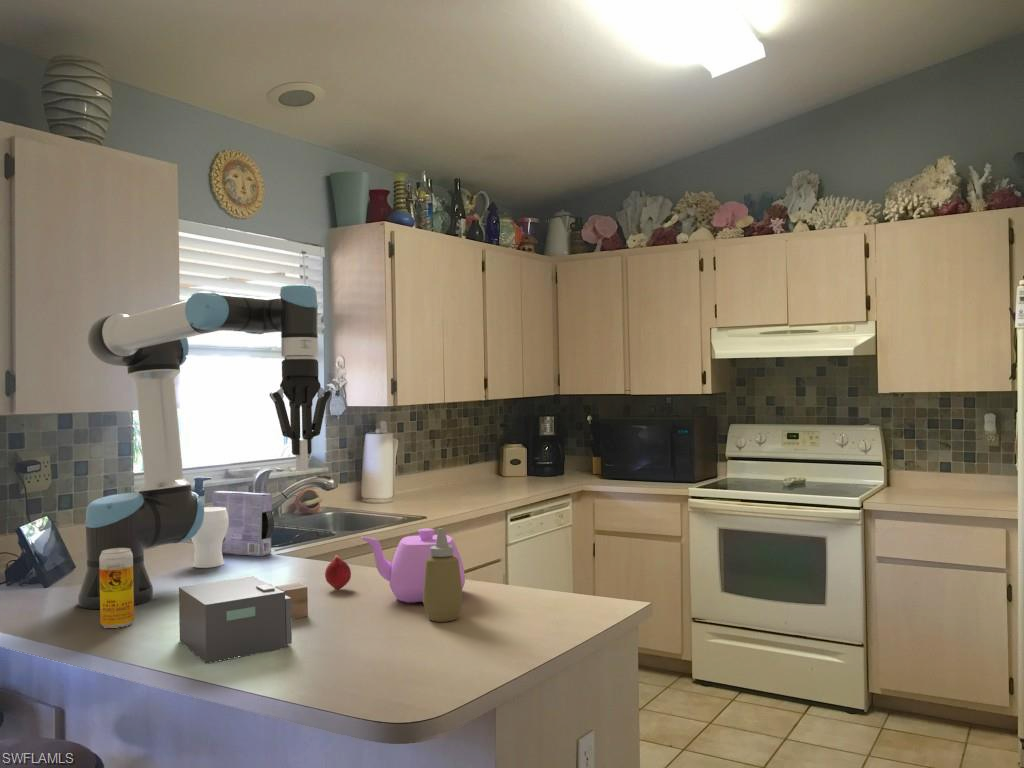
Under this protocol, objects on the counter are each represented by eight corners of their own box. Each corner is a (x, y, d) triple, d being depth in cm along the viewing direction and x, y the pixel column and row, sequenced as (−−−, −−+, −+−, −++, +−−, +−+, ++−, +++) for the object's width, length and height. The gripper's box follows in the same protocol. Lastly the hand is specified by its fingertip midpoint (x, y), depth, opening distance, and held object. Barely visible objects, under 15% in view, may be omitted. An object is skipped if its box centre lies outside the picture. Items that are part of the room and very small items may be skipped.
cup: (178, 568, 225) (177, 511, 226) (204, 560, 236) (203, 506, 236) (213, 570, 222) (212, 512, 222) (237, 562, 233) (236, 506, 233)
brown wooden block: (275, 615, 176) (274, 586, 176) (298, 611, 179) (298, 582, 179) (284, 620, 172) (283, 590, 172) (308, 616, 174) (307, 586, 174)
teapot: (462, 583, 202) (461, 519, 202) (467, 605, 181) (465, 534, 181) (365, 587, 200) (364, 522, 200) (358, 610, 179) (356, 538, 179)
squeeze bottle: (469, 614, 173) (467, 526, 173) (454, 625, 165) (452, 532, 166) (433, 612, 176) (431, 524, 176) (416, 622, 168) (414, 531, 168)
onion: (354, 587, 200) (353, 553, 200) (346, 593, 194) (346, 557, 194) (329, 587, 200) (329, 553, 200) (322, 593, 195) (321, 558, 195)
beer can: (101, 631, 166) (99, 554, 167) (100, 623, 172) (98, 549, 172) (135, 626, 169) (133, 551, 169) (132, 619, 175) (131, 546, 175)
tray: (187, 637, 159) (186, 593, 159) (260, 624, 167) (259, 582, 168) (213, 658, 146) (212, 610, 146) (291, 643, 154) (291, 598, 154)
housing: (179, 640, 159) (178, 585, 159) (254, 627, 167) (253, 574, 167) (206, 663, 145) (205, 602, 145) (286, 648, 153) (285, 590, 153)
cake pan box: (275, 553, 244) (274, 491, 244) (264, 557, 239) (263, 494, 239) (222, 550, 251) (221, 490, 251) (210, 553, 246) (209, 492, 247)
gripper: (276, 357, 173) (278, 473, 173) (336, 358, 181) (338, 469, 181) (263, 359, 179) (265, 471, 179) (321, 359, 187) (323, 467, 187)
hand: (302, 470), depth 180 cm, fingers closed
